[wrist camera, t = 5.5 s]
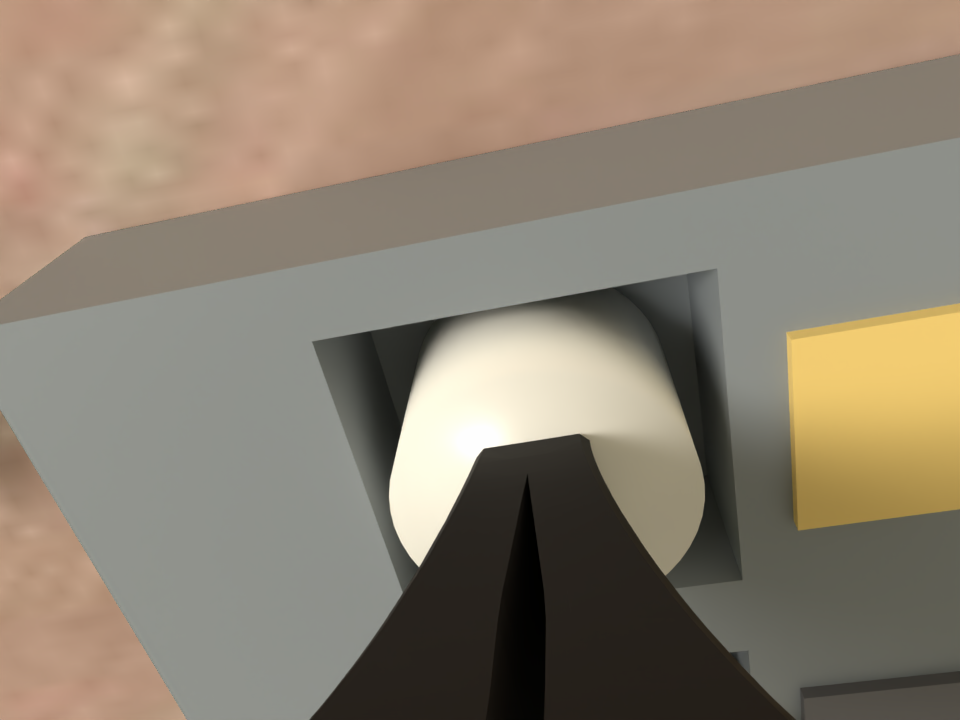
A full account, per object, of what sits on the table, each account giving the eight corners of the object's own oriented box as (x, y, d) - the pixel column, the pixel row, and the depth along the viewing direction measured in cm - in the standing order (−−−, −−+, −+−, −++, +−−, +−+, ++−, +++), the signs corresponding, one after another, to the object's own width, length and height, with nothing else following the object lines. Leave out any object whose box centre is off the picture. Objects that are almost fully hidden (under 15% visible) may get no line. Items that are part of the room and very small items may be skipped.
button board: (918, 851, 21) (993, 1025, 17) (400, 890, 23) (380, 1052, 19) (982, 49, 11) (1170, 102, 8) (85, 237, 13) (-56, 340, 10)
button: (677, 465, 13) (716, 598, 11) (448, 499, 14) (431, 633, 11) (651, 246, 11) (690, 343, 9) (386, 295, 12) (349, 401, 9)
